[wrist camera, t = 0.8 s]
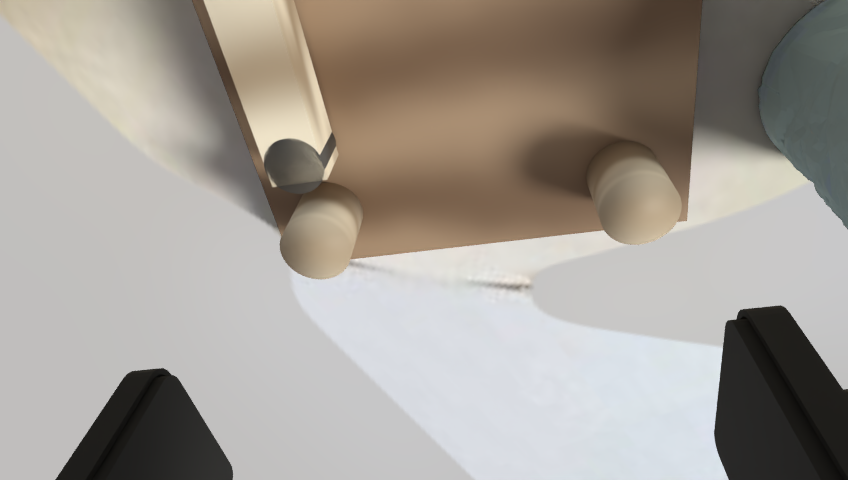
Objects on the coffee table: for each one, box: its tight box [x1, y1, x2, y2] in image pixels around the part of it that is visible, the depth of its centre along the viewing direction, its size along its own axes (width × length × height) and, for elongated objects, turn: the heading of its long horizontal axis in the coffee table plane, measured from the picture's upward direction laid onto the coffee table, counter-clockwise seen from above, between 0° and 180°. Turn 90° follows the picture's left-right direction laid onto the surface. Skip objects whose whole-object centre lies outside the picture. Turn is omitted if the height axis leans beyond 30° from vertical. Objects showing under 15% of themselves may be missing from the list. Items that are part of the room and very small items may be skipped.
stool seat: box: [192, 0, 702, 279], centre depth 24 cm, size 20×20×6 cm
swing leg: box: [204, 0, 339, 194], centre depth 23 cm, size 13×3×3 cm, turn 11°
